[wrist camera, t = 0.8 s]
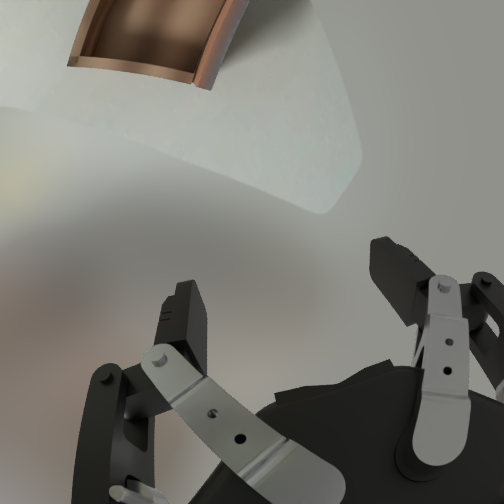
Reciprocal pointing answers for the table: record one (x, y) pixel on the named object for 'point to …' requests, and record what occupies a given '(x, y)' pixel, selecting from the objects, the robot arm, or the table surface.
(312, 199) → the table surface
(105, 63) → the box
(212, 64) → the panel
